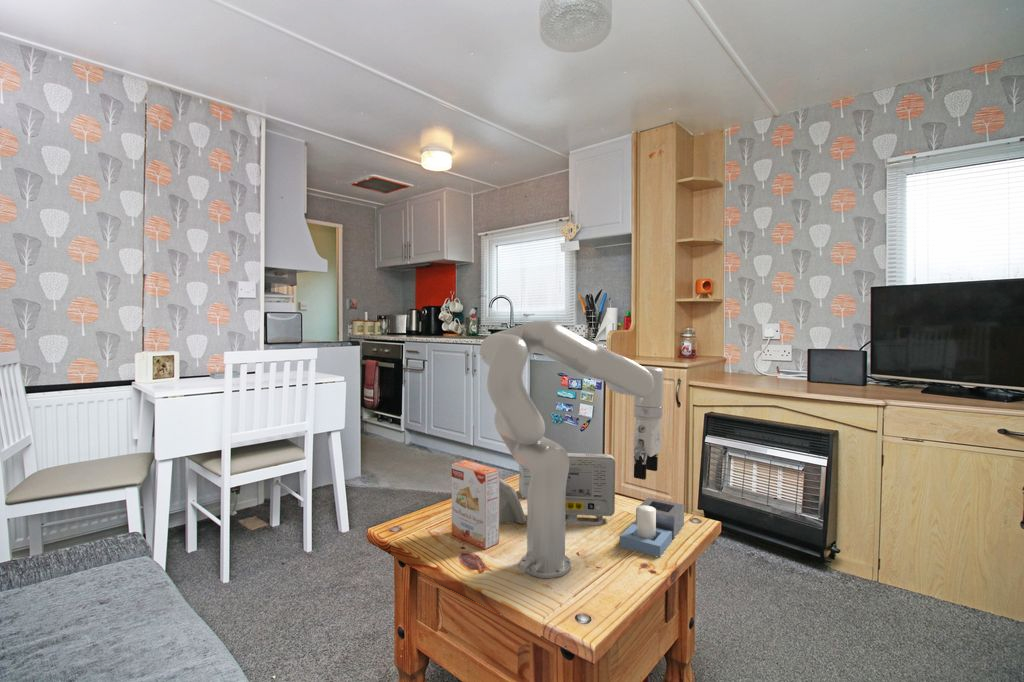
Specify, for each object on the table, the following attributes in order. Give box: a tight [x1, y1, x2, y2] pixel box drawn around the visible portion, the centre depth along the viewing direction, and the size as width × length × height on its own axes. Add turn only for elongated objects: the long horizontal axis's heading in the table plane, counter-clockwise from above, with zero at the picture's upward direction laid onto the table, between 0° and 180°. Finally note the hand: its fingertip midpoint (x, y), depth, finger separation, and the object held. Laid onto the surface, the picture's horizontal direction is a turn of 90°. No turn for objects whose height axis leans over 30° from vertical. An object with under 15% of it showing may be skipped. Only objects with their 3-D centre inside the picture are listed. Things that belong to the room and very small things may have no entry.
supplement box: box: [518, 464, 531, 499], centre depth 175 cm, size 7×7×13 cm
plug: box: [636, 505, 656, 541], centre depth 136 cm, size 5×5×10 cm
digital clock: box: [499, 477, 527, 525], centre depth 155 cm, size 16×9×11 cm, turn 10°
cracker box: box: [451, 459, 500, 550], centre depth 138 cm, size 14×6×21 cm, turn 47°
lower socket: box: [619, 522, 673, 558], centre depth 136 cm, size 11×11×3 cm
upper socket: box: [635, 497, 685, 540], centre depth 147 cm, size 11×11×6 cm
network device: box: [565, 452, 616, 526], centre depth 154 cm, size 26×9×20 cm, turn 84°
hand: (645, 474), depth 135 cm, fingers open, 9 cm apart
